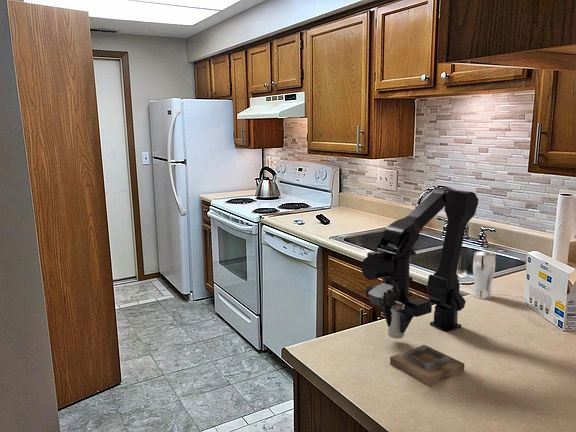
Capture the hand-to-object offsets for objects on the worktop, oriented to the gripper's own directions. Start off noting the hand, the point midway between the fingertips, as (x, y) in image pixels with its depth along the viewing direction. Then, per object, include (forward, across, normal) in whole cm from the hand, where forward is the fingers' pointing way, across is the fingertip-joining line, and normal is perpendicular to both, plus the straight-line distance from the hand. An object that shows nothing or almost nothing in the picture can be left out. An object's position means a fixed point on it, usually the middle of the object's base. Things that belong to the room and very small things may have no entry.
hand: (396, 329), depth 126 cm
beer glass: (+4, -10, +51) cm, 52 cm away
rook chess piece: (+2, 0, 0) cm, 2 cm away
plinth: (+4, +14, -4) cm, 15 cm away
